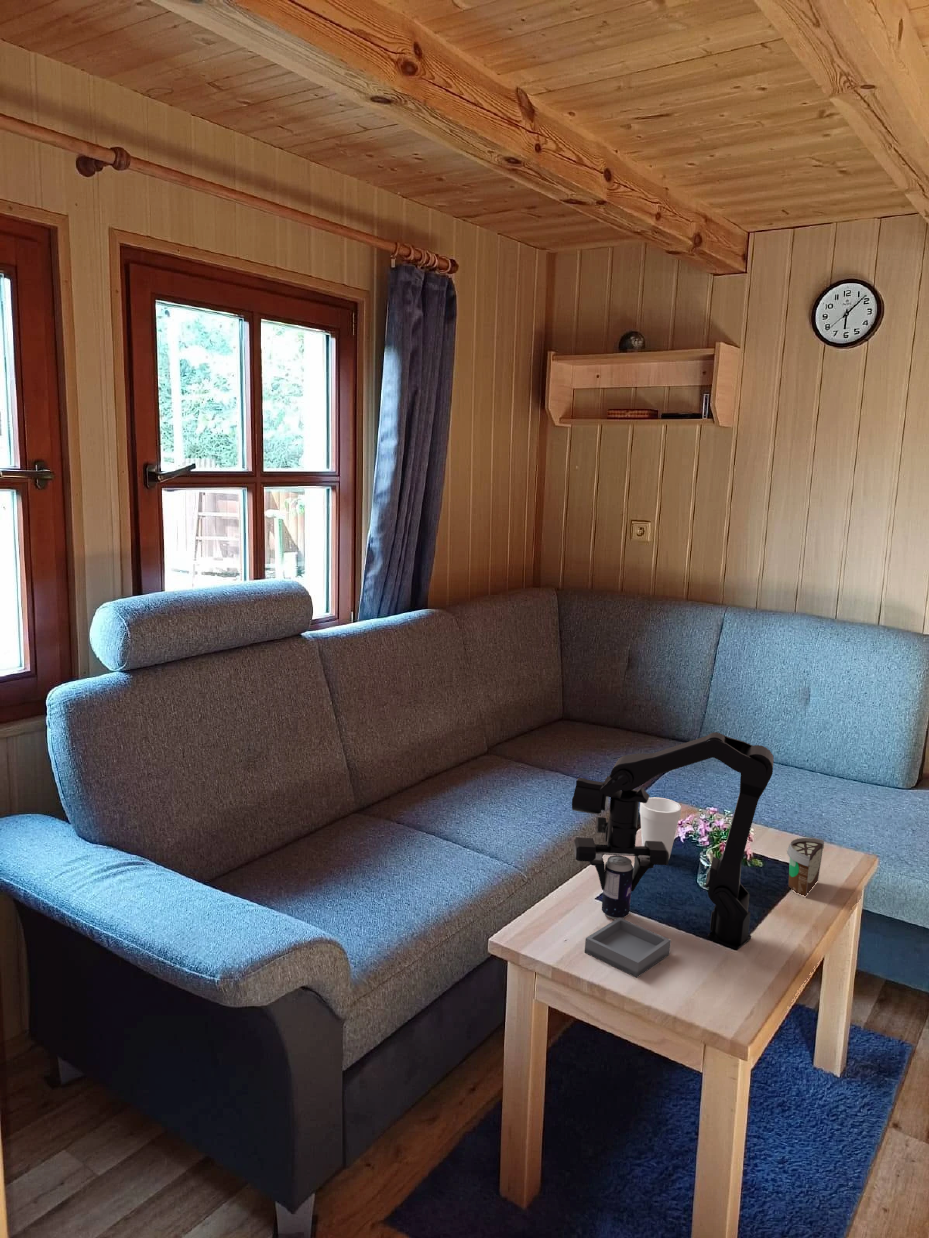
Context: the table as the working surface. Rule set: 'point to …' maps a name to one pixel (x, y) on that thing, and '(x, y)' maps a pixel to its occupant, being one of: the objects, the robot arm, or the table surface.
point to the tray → (627, 947)
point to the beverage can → (617, 887)
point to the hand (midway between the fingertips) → (617, 889)
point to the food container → (804, 863)
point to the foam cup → (659, 821)
